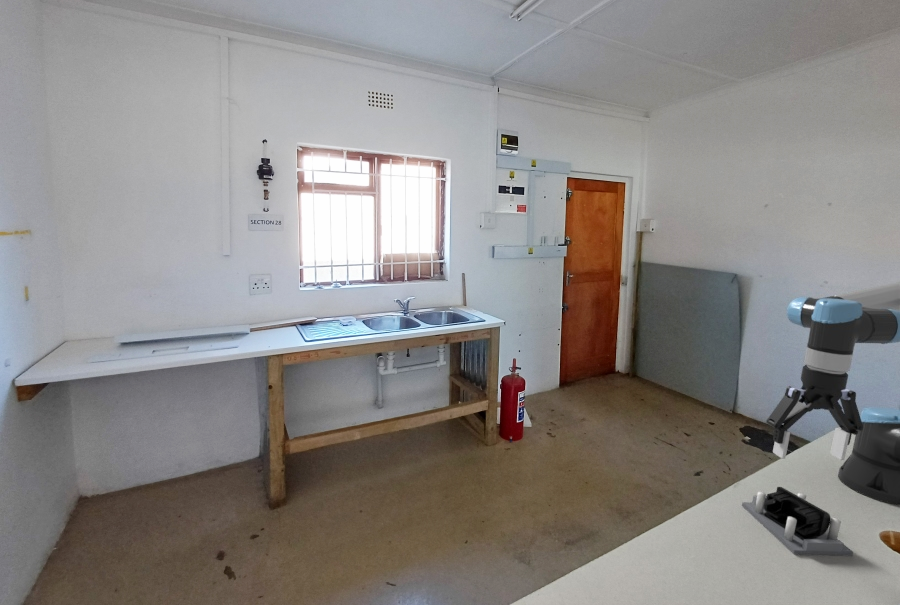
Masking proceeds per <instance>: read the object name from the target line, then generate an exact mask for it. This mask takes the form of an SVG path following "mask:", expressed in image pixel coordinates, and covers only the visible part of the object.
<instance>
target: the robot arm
mask: <svg viewBox="0 0 900 605" xmlns="http://www.w3.org/2000/svg"><path fill="white" fill-rule="evenodd" d="M786 316H787V319H788V320H789V322H791V323H792V324H794V325H796V326H797V325H798V326H800V327H803V328H806V329H809V334H808V335H809V336H808V341H807V343H806V344H807V345H806V349H805V356H804V361H803V362H804V365H803V366H802V369H801V373H800V374H801V376H800V380H801V383H802V385H801V387H800V388H796V387H795V388H794V387H793V386H790V385H789V386H787V387H786V389H785V393H784V395H783V397H782V398H781V400H780V401H779V403H778V404H777V405H776V407H775V408H774V410H773V411H772V412H771V413H770V415H769V417H768V418H767V419H766V424H768V425H769V426H771V427H772V428H774V430H773V435H772V440H773V441H774V443H773V444H774V445H773V449H772V453H773V454H774V455H776V456H777V457H779V458H780V459H784V460H785V459H786V457H787V451H788V446H789V442H790V437H791V436H790V435H791V431H789V429H790V428H791V427H792V426H793V425H794V424H795V423H797V422H798V421H799V420H800V419H801V418H802V417H803V416H804V415H806V414H807V413H808V412H810V413H811V412H812V411H813V410H825V411H828V412H829V413H830V415H831V417H833V419H834V421H835V422H836V424H837V425H838V426H839V427H835V428H834V432H833V437H832V438H833V439H832V443H831V448H830V453H829V454H830V455H832V456H833V457H834V458H836V459H838V460H840V461H844V463H843V464H842V465H841V466H840V467H839V468H838V469H839V470H838V473H837V474H838V475H837V478H838V480H840V482H841V483H843V484H844V485H845V486H847V487H848V488H850V489H851V490H854V491H855V492H857V493H859V494H861V495H864V496H867V497H868V498H872V499H875V500H876V501H881V502H884V503H888V504H893V505H899V506H900V409H897V408H890V407H880V406H869V407H865V408H863V409H862V411H861V413H859V412H860V411H859V408H858V406H857V402H856V401H857V400H856V398H857V393H856V391H854V390H851V389H849V388H847V383H848V379H849V374H848V372H849V371H850V370H851V366H852V360H853V355H854V350H855V345H856V344H881V345H885V344H886V345H887V344H894V343H900V281H896V282H892V283H887V284H882V285H877V286H874V287H869V288H864V289H859V290H855V291H850V292H845V293H840V294H835V295H831V296H827V297H826V296H825V297H821V298H820V297H819V298H815V297H814V298H813V297H812V296H811V297H810V296H808V297H805V296H799V297H796V298H794V299H793V300H791V301H790V303H789V304H788V306H787V309H786ZM839 400H840V402H839ZM840 403H841V404H840ZM852 435H854V436H855V437H854V442H853V445H852V450H851V454H850V455H849V456H848V457H847V459H846V454H847V451H848V450H847V449H848V446H849V445H850V444H851V439H852Z"/></svg>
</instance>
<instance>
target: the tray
mask: <svg viewBox="0 0 900 605" xmlns="http://www.w3.org/2000/svg"><path fill="white" fill-rule="evenodd" d="M796 495H797V496H799V497H800V498H802V499H804V500H806V499H807V495H806V494H805V493H802V492H797V494H796ZM766 496H767V494H766V493H765V492H763V491H757V494H756V495H753V496H752V500H751V501H752V502H749V501H747V502H743V501H742V503H741V507H742V508H744V509H745V510H746V511H747V513H749V514H750V515H751V516H752V517H753V518H754V519H755V520H757V522H759V523H760V524H761V525H762V527H764V528H765V529H766V530H767V531H768V532H769V533H771V535H773V536H774V537H775V538H776V539H777V541H779V542H780V543H781V544H782V545H783V546H784V547H785V548H786V549H787V550H788V551H789V552H791V553H792V555H805V556H806V555H807V556H810V555H811V556H813V555H814V556H839V557H840V556H841V557H853V555H854V551H853V550H851V549H850V548H849V547H848V546H847V545H845V544H844V542H842V540H840V539H838V537H839V534H840V529H841V528H840V527H841V524H842V521H841V520H840V519H838V518H836V517H831V522H830V525H829V528H828V530H827V531H826V532H825V533H824V534H823V535H821V536H818V537H817V538H814V539H804V540H802V539H800V538H799V537H797V536H795V535H794V532H795V527H796V522H797V520H796V519H795V518H793V517H790V516H789V517H788V518H787V523H786V528H783V527H781V526H780V525H778V524H777V523H775V522H774V521H772V520H771V519H769V518H767V517H766V516H765V512H766V511H765V504H767V503H771V502H773V501H774V499H771V500H767V499H766ZM806 501H807V500H806Z"/></svg>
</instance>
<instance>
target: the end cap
mask: <svg viewBox="0 0 900 605" xmlns="http://www.w3.org/2000/svg"><path fill="white" fill-rule="evenodd" d="M766 499H767V500H771V499H774V501H773V502H771V503H767V504H765V511H766V512H765V516H766V517H767V518H769V519H771V520H772V521H774V522H775V523H777V524H778V525H780V526H781V527H783V528H786V523H787V518H788V517H789V516H790V517H793V518H795V519H796V520H797V522H796V527H795V532H794V535H795V536H797V537H799V538H800V539H802V540H804V539H814V538H817V537H818V536H821V535H823V534H824V533H825V532H826V531H828V530H829V527H830V522H831V518H832V517H831V515H830V513H829V512H827V511H825V510H824V509H822V508H820V507H818V506H817V505H815V504H812V503H811V502H810V501H807V500H804V499H802V498H800V497H799V496H797V494H795V493H793V492H791V491H789V490H788V489H786V488H784V487H783V486H777V487H776V491H775V492H771V493H767V494H766Z"/></svg>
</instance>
